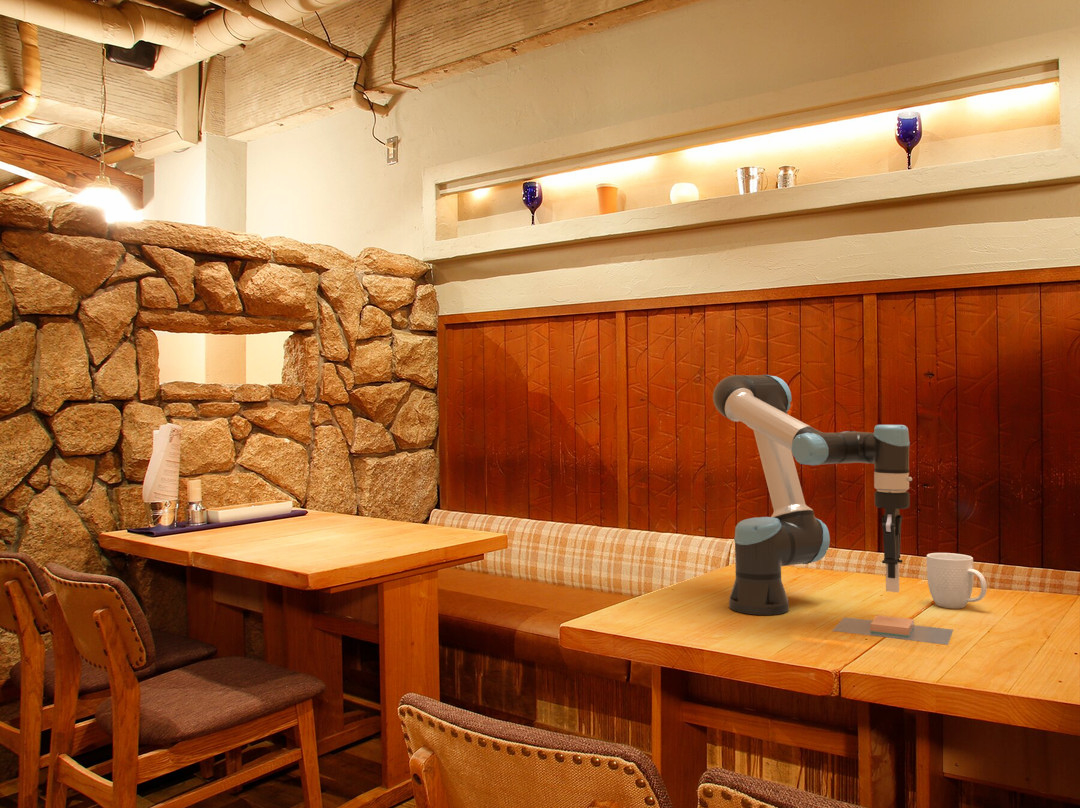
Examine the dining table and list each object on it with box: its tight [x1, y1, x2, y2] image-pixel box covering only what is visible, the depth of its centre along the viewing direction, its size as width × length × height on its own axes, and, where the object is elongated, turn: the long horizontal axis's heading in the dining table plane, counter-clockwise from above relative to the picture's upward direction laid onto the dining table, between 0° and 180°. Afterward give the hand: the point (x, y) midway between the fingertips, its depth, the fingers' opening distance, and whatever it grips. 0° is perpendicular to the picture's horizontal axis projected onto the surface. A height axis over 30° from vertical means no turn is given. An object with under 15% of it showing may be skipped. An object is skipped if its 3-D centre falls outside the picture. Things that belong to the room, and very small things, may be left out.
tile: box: [871, 615, 915, 637], centre depth 188 cm, size 8×2×9 cm
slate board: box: [831, 616, 954, 646], centre depth 188 cm, size 24×14×1 cm, turn 59°
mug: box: [926, 552, 988, 609], centre depth 213 cm, size 15×11×13 cm
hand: (892, 591), depth 191 cm, fingers closed
